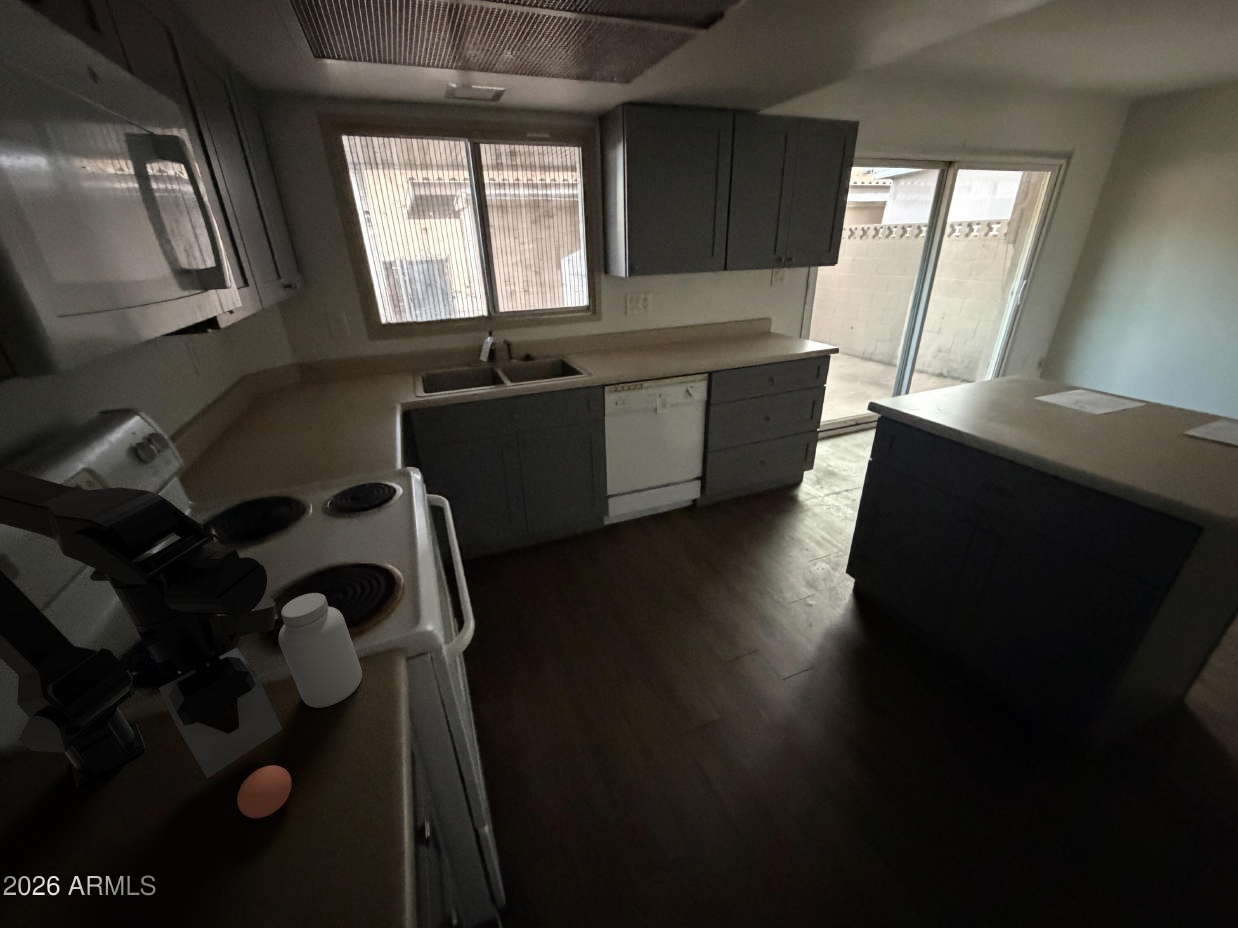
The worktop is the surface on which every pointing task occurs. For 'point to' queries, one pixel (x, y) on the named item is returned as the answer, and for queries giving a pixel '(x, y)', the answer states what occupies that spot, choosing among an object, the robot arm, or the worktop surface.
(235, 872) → the worktop surface
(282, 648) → the pill bottle
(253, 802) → the ball
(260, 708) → the grey cube
